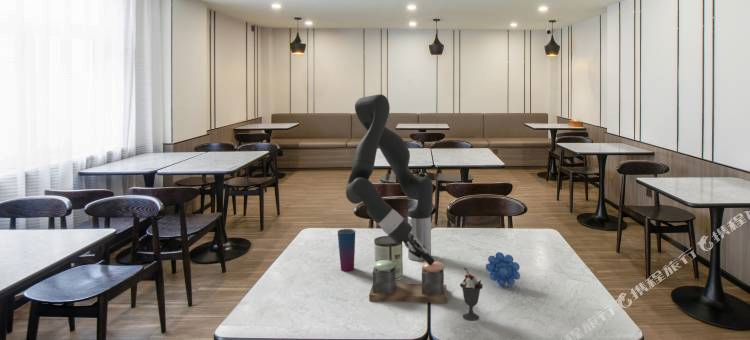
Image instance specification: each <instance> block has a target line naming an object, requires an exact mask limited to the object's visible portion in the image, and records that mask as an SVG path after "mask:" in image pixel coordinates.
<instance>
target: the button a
mask: <svg viewBox="0 0 750 340" xmlns="http://www.w3.org/2000/svg"><path fill="white" fill-rule="evenodd" d="M374 267H375V269H376V270H377V271H385V272H391V270H392V269H393V268H394V262H392V261H389V260H380V261H376V262H375V261H374Z"/></svg>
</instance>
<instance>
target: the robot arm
mask: <svg viewBox="0 0 750 340" xmlns="http://www.w3.org/2000/svg"><path fill="white" fill-rule="evenodd" d="M390 108H391V107H390V103H389V100H388V98H387V97H386V95H384V94H373V95H369V96H363V97H360V98H358V99H357V100H355V103H354V112H355V115H356V117H357V118H358V120H359V122H360V123H361V125H362V126H363V127H364V129H365V130H366V131H367V132H366V133H365V135H364V136H363V137H362V139H361V140H360V142H358V143H359V144H358V145H357V147H356V149H355V153H354V157H353V162H352V168H351V172H350V174H349V178H348V181H347V184H346V188H345V198H346V199H347V200H348V201H349V202H350V203H351V204H355V205H357V204H361V203H363V204H364V205H365V207H366V213H367V215H368V216H369V217H370V218H371V219H372V220H373V221H374V222H375V223H376V224H377V225H378V227H379V228H380V229H381V230H382V231H383V232H384V233H385V234H386V236H389V237H390V238H391V239H392V240H393V241H394V242H396V243H400V242H401V241H402V243H404V246H405V248H407V256H408V257H407V258H408V259H410V260H412V261H419V262H420V261H424V262H427V263H428V264H429V265H432V264H433V263H434V261H435V258H434V257H433V256H432V250H431V249H432V209H433V197H434V185H433V181H432V180H431V178H430V177H426V176H419V175H414V174H413V172H412V171H411V169H410V168H409V163H410V157H411V155H410V150H409V147H408V146H407V145H406V143H405V140H403V138H402V137H401V136H400V135H398V134H397V133H396V132H394V131H393V130H391V129H389V128H388V127H386V124H387V122H388V119H389V117H390V116H389V115H390V110H391V109H390ZM378 148H379V150H380V151H381V153H382V156H383V157H384V159H385V161H386V162H387V163H388V165H389V166H390V168H391V170H392V172H393V173H394V175H395V177H396V180H397V181H398V183H399V185H400V187H401V189H402V193H403V194H404V196H406V198H409V199H412V200H417V205H416V206H412V207H409V208H408V210H407V220H406V219H405V218H404V217H403V216H402V215H401V214H400V213H399V211H397V210H395V209H394V208H393V207H392V206H391V205H389V203H387V201H385V200H384V198H383V196H382V195H381V194H380V192H379V191H378V189H377V188H376V186H375V185H374V184H373V183H372V182H371V181H370V180H369V179H370V178H371V176H372V174H373V173H374V169H375V164H376V163H375V162H376V158H377V157H376V156H377V152H378Z"/></svg>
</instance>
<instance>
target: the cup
mask: <svg viewBox="0 0 750 340" xmlns="http://www.w3.org/2000/svg"><path fill="white" fill-rule="evenodd" d="M337 240H338V252H339V261H340V262H339V263H340V271H343V272H351V271H354V269H355V252H356V230H355V229H352V228H342V229H339V230H337Z"/></svg>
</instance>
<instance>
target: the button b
mask: <svg viewBox="0 0 750 340" xmlns="http://www.w3.org/2000/svg"><path fill="white" fill-rule="evenodd" d="M422 266H423V270H425V271H426V272H429V273H439V271H441V270H442V269H443V268H444V265H443V263H442V262H440V261H435V260H434V263H433V264H432V265H429V264H428V263H427V262H426V261H424V262H423V263H422Z"/></svg>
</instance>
